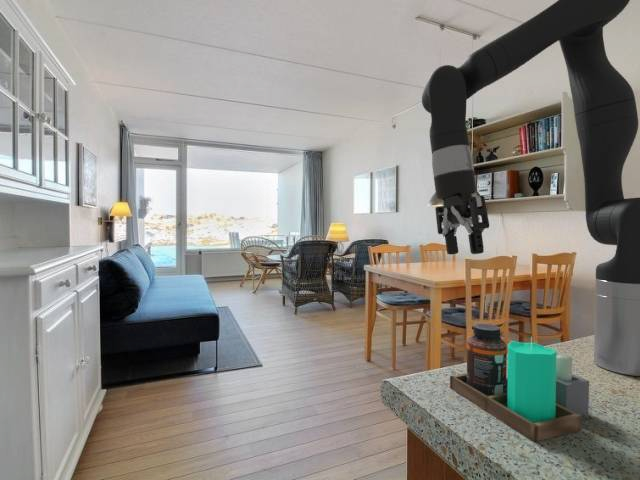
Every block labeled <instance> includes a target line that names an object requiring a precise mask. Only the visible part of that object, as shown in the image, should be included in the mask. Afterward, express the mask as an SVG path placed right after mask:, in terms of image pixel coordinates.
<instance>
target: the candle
mask: <svg viewBox="0 0 640 480" xmlns="http://www.w3.org/2000/svg"><path fill="white" fill-rule="evenodd" d="M557 354H558V352H557V350H556V349H555V348H551V347H545V346H544V345H542V344H538V343H537V342H533V337H532V336H530V342H521V341H514V340H512V341H511V342H509V343H508V344H507V392H506V393H507V408H509V409H510V410H512V411H514V412H515V413H517V414H519V415H521V416H522V417H524V418H526V419H527V420H529V421H531V422H532V423H538V422H542V421H547V420H551V419H555V410H556V358H557Z"/></svg>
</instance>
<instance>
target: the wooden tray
mask: <svg viewBox="0 0 640 480" xmlns="http://www.w3.org/2000/svg"><path fill="white" fill-rule="evenodd" d="M449 389H452V390H453V391H454V392H456V393H458V395H459V394H460V395H461V396H462V397H464V398H465V399H467V400H468V401H470V402H472V403H473V404H475V405H476V406H478V407H479V408H481V409H483V410H484V411H486V412H487V413H489V414H490V415H492V416H493V417H495V418H496V419H497V420H500V421H501V422H503V423H504V424H506V425H507V426H509V427H511V429H512V428H513V429H514V430H515V431H517V432H518V433H520V434H522V435H523V436H524V437H526V438H528V439H529V440H531V441H533V442H534V443H535V442H540V441H543V440H547V439H552V438H555V437H560V436H563V435H567V434H570V433H571V434H572V433H574V432H578V431H581V430H582V416H581V415H579V414H577V413H575V412H573V411H571V410H569V409H567V408H565V407H563V406H561V405H559V404H557V403H556V410H555V419H551V420H547V421H542V422H538V423H532V422H531V421H529V420H527V419H526V418H524V417H522V416H521V415H519V414H517V413H515V412H514V411H512V410H510V409H509V408H507V379H506V393H502V394H497V395H492V396H487V395H485V394H483V393H481V392H480V391H478V390H476V389H475V388H473V387H471V386H470V385H468V384H467V373H461V374H456V375H449Z"/></svg>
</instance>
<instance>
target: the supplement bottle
mask: <svg viewBox="0 0 640 480" xmlns="http://www.w3.org/2000/svg"><path fill="white" fill-rule="evenodd" d="M472 332H473V335H472V336H470V337H469V338H468V339H467V343H466V347H467V349H466V374H467V384H468V385H470V386H471V387H473V388H475V389H476V390H478V391H480V392H481V393H483V394H485V395H487V396H492V395H497V394H502V393H507V392H506V379H507V378H508V376H507V374H508V345H507V343H506V342H505V341H504V340H503V339H502V337H501V335H502V334H501V327H499V326H498V325H494V324H489V323H477V324H474V325H473V331H472Z"/></svg>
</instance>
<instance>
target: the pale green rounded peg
mask: <svg viewBox="0 0 640 480" xmlns="http://www.w3.org/2000/svg"><path fill="white" fill-rule="evenodd" d="M572 374H573V358H572V356H569V355H567V354H562V353H561V354H559V353H557V358H556V379H559V380H561V381H563V382H569V381H572Z"/></svg>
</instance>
